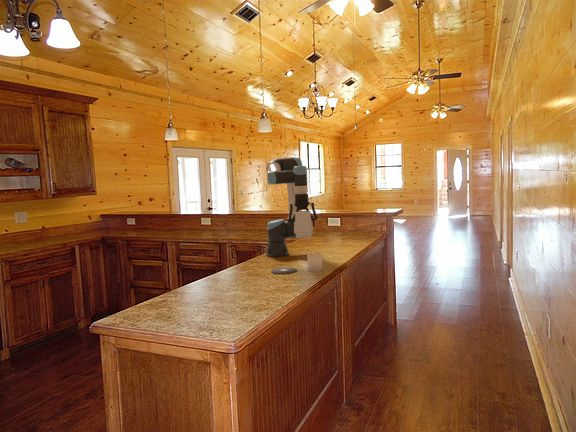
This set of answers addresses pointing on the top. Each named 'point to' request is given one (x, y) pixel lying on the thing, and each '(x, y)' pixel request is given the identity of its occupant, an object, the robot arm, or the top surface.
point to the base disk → (284, 270)
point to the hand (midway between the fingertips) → (303, 232)
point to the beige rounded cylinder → (314, 262)
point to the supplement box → (303, 224)
